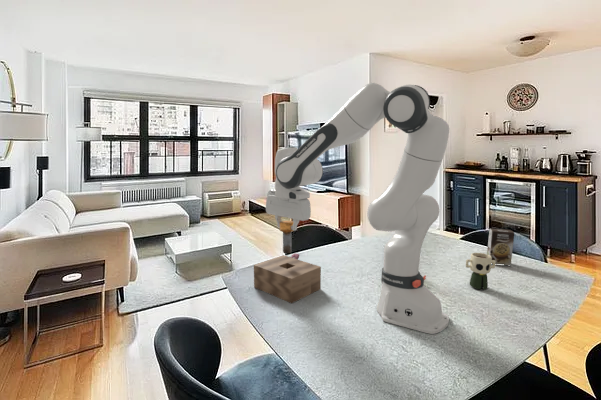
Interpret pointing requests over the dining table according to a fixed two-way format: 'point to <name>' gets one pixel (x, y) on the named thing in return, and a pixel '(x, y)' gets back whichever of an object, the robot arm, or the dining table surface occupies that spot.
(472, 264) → the character mug
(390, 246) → the robot arm
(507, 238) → the coffee box
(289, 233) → the steel pin
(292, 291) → the walnut block
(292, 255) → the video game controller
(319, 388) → the dining table surface
